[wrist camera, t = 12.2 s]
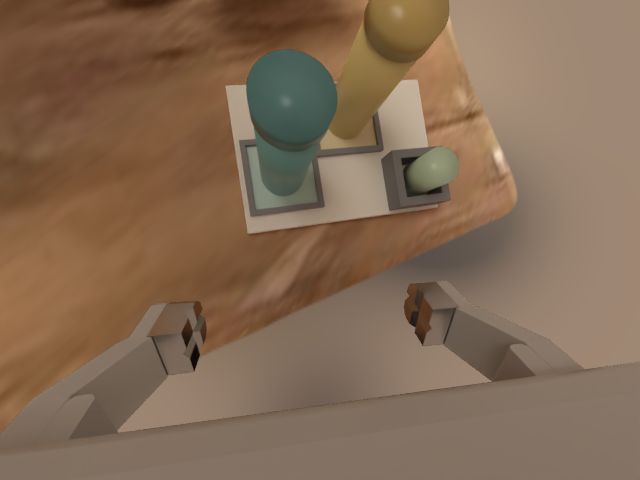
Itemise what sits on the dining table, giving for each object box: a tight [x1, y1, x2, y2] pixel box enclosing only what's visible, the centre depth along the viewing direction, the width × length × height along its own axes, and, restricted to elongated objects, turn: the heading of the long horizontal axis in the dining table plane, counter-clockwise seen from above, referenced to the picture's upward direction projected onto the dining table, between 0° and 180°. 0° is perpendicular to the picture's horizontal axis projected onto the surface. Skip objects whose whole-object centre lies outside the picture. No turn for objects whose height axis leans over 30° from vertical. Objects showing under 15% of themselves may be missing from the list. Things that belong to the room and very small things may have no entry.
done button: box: [403, 146, 459, 194], centre depth 23 cm, size 3×3×4 cm
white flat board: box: [226, 80, 451, 234], centre depth 25 cm, size 14×20×4 cm
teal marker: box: [246, 50, 338, 196], centre depth 18 cm, size 4×4×12 cm
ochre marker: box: [328, 0, 449, 139], centre depth 19 cm, size 4×4×12 cm
